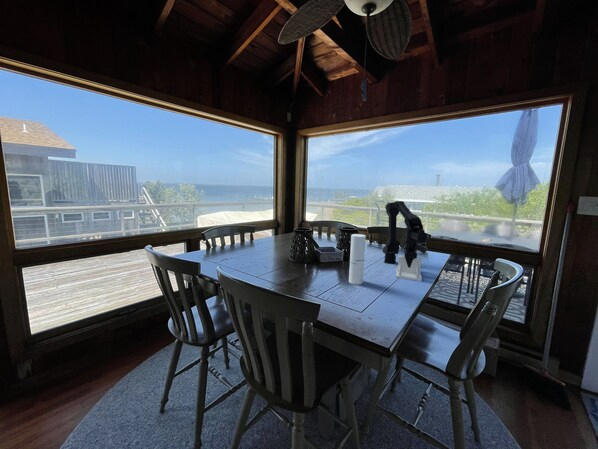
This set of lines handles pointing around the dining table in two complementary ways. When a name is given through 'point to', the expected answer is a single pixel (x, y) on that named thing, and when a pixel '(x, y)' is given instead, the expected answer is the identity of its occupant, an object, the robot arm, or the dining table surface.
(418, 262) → the tile
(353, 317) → the dining table surface
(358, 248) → the cylindrical container
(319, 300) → the dining table surface
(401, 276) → the rack
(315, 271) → the dining table surface
